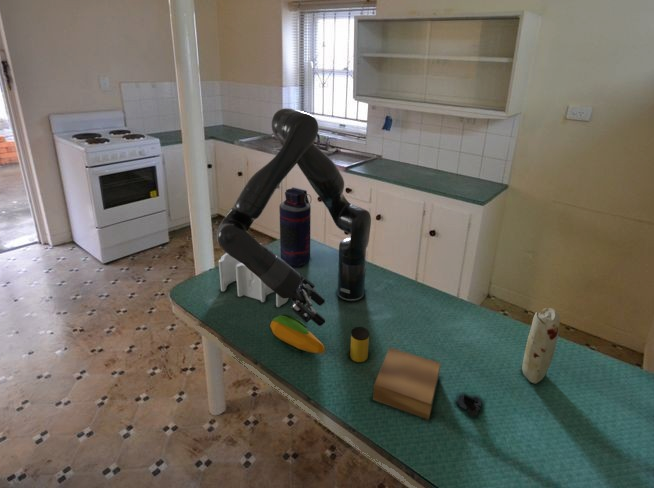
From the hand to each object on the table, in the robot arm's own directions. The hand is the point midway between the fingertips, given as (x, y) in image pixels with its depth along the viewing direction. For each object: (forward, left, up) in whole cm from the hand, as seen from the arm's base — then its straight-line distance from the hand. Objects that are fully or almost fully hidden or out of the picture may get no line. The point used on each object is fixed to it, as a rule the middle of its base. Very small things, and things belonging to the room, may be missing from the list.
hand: (322, 312), depth 109 cm
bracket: (-12, -36, -15) cm, 41 cm away
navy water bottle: (-38, -38, -15) cm, 56 cm away
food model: (-27, +52, -15) cm, 60 cm away
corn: (0, -8, -15) cm, 17 cm away
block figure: (-7, +40, -15) cm, 43 cm away
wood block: (-3, +25, -15) cm, 29 cm away
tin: (-6, +9, -15) cm, 18 cm away
